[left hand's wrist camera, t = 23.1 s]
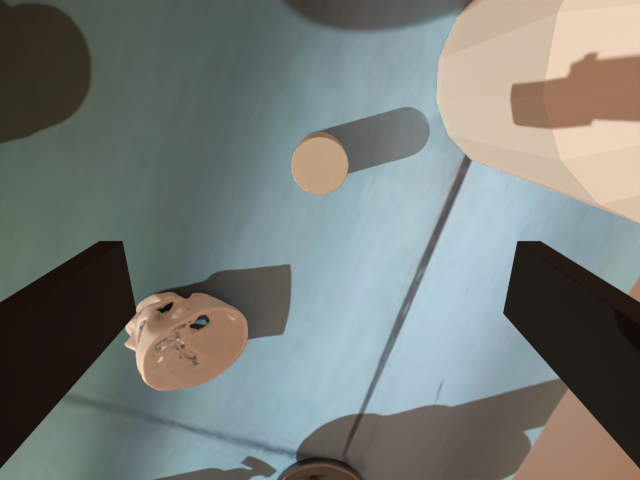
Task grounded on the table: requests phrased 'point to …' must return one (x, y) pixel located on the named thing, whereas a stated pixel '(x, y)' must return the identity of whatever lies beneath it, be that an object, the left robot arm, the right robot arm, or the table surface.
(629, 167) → the container
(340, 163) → the canister
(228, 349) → the skull bowl
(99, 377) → the table surface
